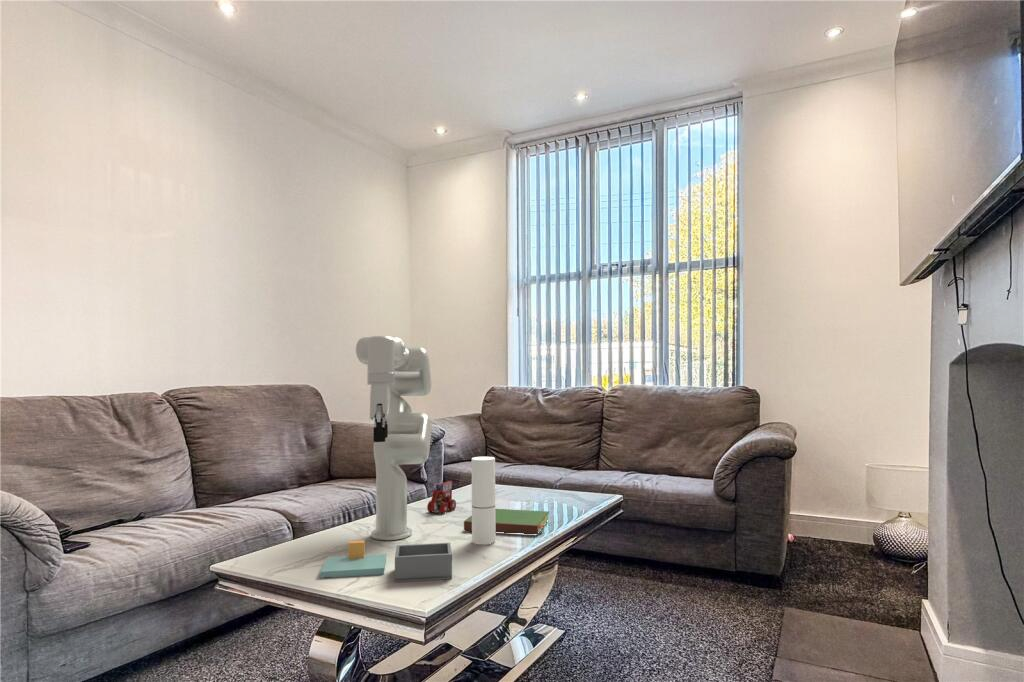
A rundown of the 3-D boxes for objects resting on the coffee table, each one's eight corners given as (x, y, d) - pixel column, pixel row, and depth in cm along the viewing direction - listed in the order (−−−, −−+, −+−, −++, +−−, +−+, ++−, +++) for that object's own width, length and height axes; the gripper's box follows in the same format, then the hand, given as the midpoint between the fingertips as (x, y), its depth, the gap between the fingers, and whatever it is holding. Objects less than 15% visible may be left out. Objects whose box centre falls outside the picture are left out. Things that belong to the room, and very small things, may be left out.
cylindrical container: (495, 538, 181) (495, 456, 182) (495, 544, 174) (495, 459, 175) (472, 538, 180) (471, 456, 182) (471, 545, 173) (471, 460, 175)
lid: (327, 563, 158) (327, 542, 159) (386, 559, 161) (386, 539, 161) (320, 578, 147) (320, 555, 147) (383, 574, 149) (383, 552, 150)
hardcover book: (463, 533, 188) (463, 521, 189) (481, 518, 207) (481, 507, 207) (540, 538, 182) (539, 525, 182) (551, 522, 200) (551, 511, 200)
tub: (396, 568, 154) (396, 545, 154) (450, 565, 156) (450, 542, 156) (394, 582, 144) (394, 557, 144) (452, 578, 146) (451, 554, 146)
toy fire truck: (423, 514, 212) (423, 485, 212) (443, 506, 223) (443, 479, 223) (439, 516, 209) (439, 486, 209) (458, 508, 220) (458, 480, 220)
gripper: (370, 379, 175) (370, 436, 174) (364, 380, 158) (364, 443, 157) (395, 378, 176) (395, 436, 175) (392, 379, 159) (392, 443, 158)
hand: (380, 439), depth 166 cm, fingers open, 9 cm apart
